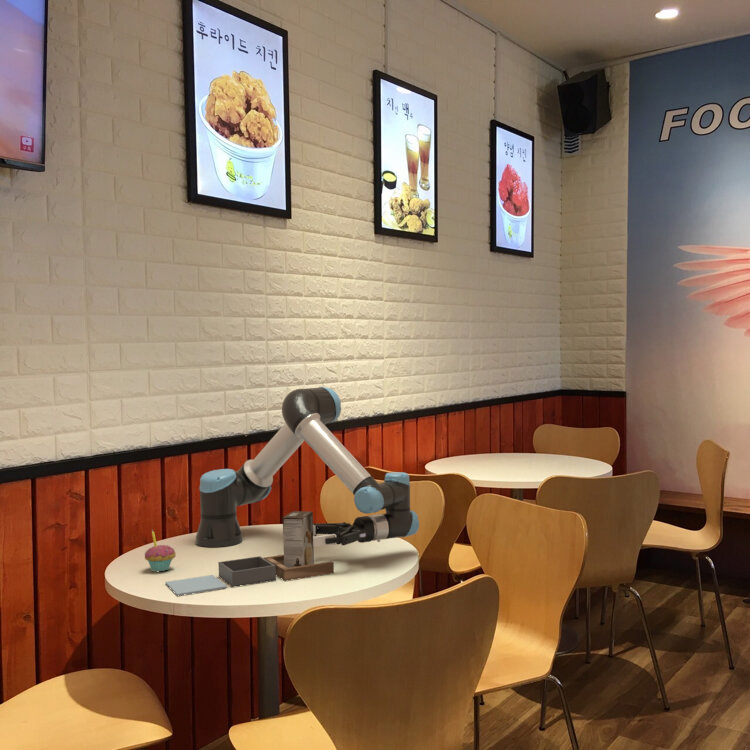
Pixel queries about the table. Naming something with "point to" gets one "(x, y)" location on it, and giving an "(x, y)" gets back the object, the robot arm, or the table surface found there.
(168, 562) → the cupcake
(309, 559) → the coffee box
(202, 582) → the mat
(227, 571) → the bin
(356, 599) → the table surface
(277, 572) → the walnut slot
